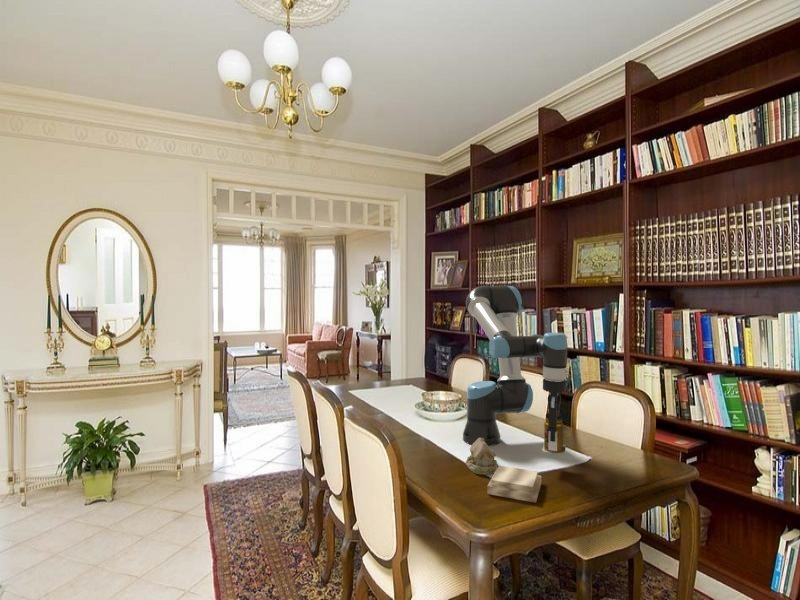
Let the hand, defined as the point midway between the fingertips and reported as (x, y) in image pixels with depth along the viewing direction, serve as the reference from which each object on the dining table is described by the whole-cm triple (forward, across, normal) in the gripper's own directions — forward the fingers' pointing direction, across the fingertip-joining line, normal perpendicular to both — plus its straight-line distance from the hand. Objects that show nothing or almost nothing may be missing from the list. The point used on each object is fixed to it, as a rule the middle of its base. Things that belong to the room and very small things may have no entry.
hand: (553, 446), depth 148 cm
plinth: (+8, -20, +10) cm, 23 cm away
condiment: (+1, +1, 0) cm, 2 cm away
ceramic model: (+9, -7, +23) cm, 25 cm away
